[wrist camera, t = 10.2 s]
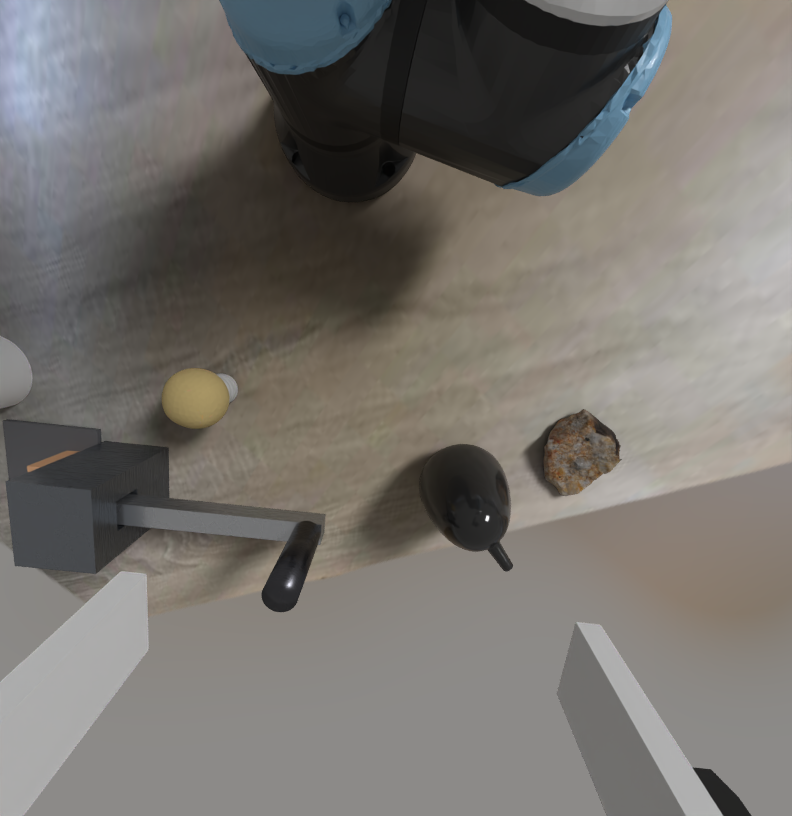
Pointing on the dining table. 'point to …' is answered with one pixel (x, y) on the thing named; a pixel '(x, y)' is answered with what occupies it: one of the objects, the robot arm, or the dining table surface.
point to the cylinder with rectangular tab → (13, 374)
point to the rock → (579, 452)
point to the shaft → (238, 534)
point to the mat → (42, 442)
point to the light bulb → (198, 397)
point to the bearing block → (82, 505)
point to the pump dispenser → (468, 499)
